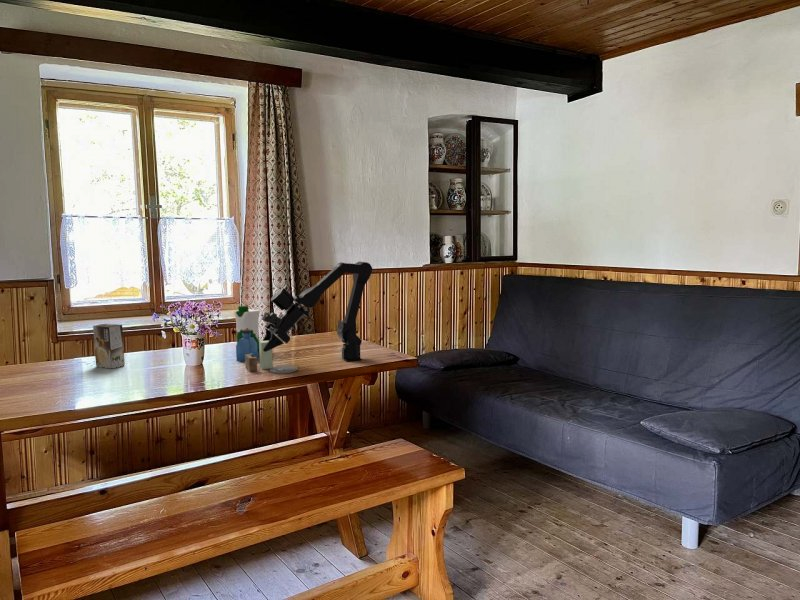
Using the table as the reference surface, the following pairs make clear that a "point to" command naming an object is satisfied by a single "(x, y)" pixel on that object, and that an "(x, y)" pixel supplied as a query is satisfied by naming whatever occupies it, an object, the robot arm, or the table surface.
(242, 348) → the perfume bottle
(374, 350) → the table surface
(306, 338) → the table surface
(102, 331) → the coffee box
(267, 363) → the sage peg
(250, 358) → the walnut U-bracket
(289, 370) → the stoneware coaster
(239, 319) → the milk carton
